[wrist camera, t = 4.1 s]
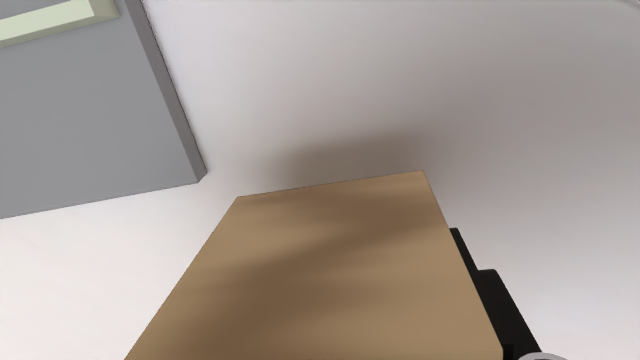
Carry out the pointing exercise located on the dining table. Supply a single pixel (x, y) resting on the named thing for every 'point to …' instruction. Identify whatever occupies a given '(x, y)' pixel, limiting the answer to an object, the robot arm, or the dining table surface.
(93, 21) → the socket
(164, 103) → the board
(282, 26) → the dining table surface
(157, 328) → the cube
